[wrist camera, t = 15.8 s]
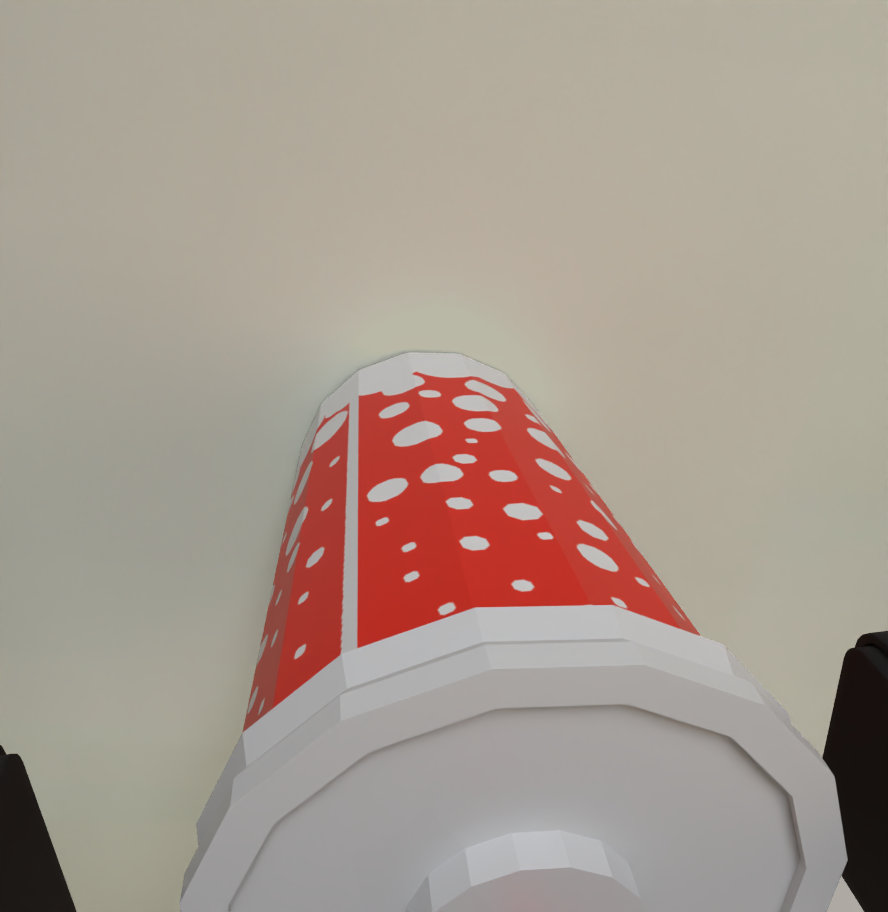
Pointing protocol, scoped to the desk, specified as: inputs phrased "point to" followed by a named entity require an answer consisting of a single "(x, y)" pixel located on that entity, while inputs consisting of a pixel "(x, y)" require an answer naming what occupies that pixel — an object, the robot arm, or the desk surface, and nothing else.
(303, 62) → the desk surface
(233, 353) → the desk surface
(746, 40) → the desk surface
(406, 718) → the beverage cup
